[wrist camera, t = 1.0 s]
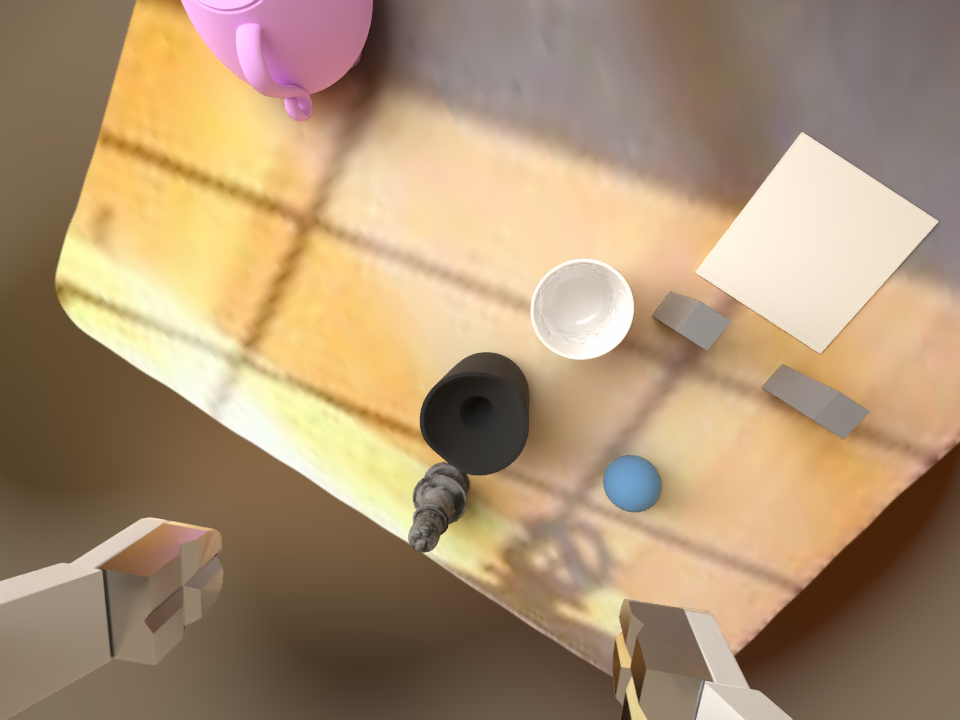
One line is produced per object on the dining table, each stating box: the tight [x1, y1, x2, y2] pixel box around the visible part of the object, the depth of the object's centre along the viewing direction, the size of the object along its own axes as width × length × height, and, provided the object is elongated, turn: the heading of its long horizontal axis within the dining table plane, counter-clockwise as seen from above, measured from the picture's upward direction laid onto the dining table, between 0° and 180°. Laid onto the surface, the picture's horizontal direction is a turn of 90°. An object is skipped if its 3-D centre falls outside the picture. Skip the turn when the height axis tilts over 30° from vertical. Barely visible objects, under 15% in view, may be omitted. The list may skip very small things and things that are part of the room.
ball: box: [604, 455, 661, 512], centre depth 46 cm, size 6×6×6 cm
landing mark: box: [695, 132, 939, 354], centre depth 41 cm, size 14×14×1 cm
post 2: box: [762, 364, 870, 439], centre depth 40 cm, size 3×3×9 cm
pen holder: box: [420, 352, 529, 475], centre depth 44 cm, size 9×9×10 cm
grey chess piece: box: [408, 462, 469, 552], centre depth 46 cm, size 6×6×12 cm
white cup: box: [531, 259, 634, 360], centre depth 40 cm, size 8×8×10 cm
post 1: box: [652, 292, 731, 351], centre depth 40 cm, size 3×3×9 cm
